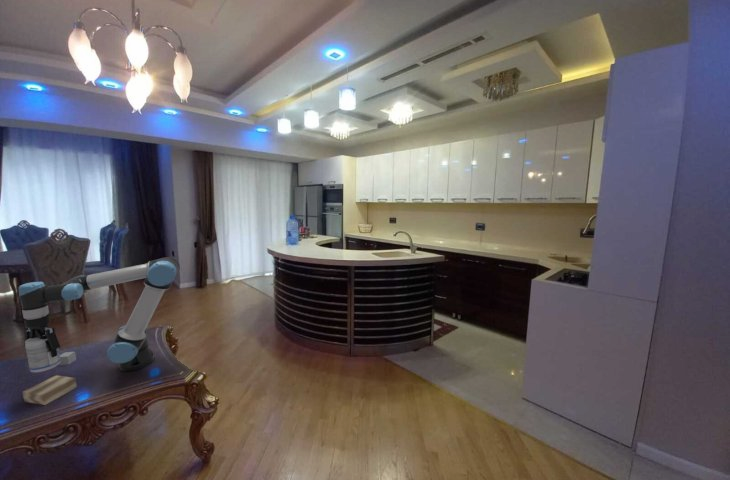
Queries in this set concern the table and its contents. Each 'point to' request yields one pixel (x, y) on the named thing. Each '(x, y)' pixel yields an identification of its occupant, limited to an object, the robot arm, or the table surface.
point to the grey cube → (67, 358)
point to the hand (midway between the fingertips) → (45, 361)
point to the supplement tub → (39, 355)
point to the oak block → (49, 390)
